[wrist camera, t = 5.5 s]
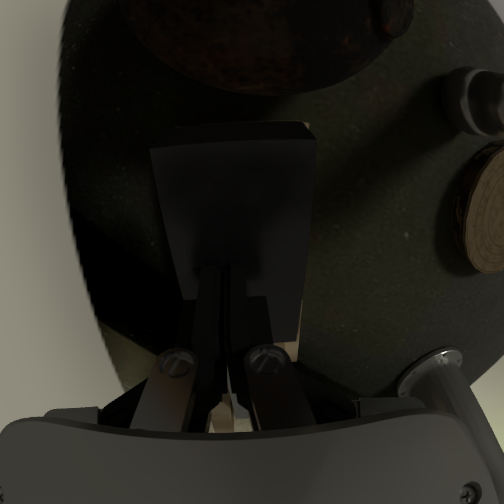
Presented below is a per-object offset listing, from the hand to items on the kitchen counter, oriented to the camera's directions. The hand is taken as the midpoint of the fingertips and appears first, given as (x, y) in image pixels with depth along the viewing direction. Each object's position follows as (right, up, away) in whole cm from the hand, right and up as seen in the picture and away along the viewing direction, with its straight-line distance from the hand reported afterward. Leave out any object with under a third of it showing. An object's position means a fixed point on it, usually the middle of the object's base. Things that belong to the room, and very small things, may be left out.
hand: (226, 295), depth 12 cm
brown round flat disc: (+30, +8, +14) cm, 34 cm away
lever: (+1, -2, +6) cm, 7 cm away
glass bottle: (+1, +22, +5) cm, 23 cm away
